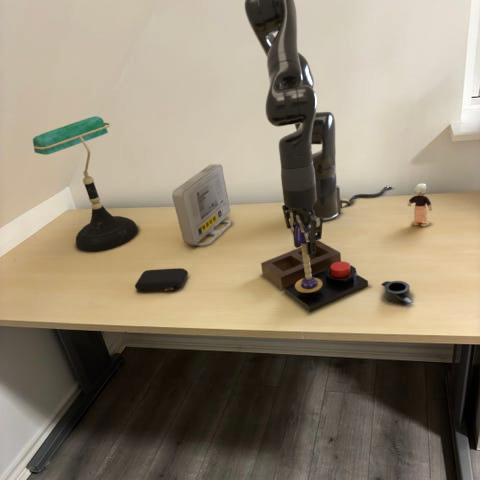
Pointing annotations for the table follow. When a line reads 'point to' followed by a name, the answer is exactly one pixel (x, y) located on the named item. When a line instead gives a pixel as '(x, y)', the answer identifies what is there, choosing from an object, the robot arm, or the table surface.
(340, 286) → the switch base
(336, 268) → the switch button
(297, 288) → the brass plate
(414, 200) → the grandmother figurine
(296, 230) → the toy lamp
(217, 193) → the network device
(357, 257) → the table surface
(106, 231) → the banker's lamp
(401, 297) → the black winged round part
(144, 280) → the carrying case
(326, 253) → the rack
